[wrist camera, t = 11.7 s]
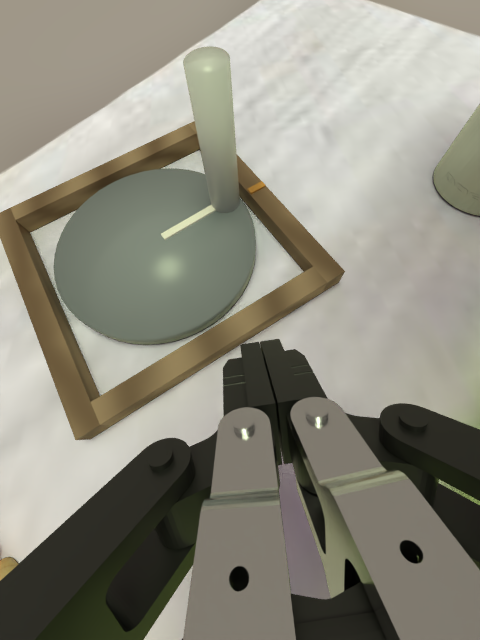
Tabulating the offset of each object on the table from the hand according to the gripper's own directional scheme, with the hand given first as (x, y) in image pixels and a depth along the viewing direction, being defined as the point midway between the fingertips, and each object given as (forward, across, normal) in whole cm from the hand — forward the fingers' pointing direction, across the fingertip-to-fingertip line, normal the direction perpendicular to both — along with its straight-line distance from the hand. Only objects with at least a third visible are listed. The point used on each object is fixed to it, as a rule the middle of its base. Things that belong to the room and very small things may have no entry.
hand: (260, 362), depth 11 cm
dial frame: (+21, +8, -2) cm, 22 cm away
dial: (+21, +8, -2) cm, 22 cm away
